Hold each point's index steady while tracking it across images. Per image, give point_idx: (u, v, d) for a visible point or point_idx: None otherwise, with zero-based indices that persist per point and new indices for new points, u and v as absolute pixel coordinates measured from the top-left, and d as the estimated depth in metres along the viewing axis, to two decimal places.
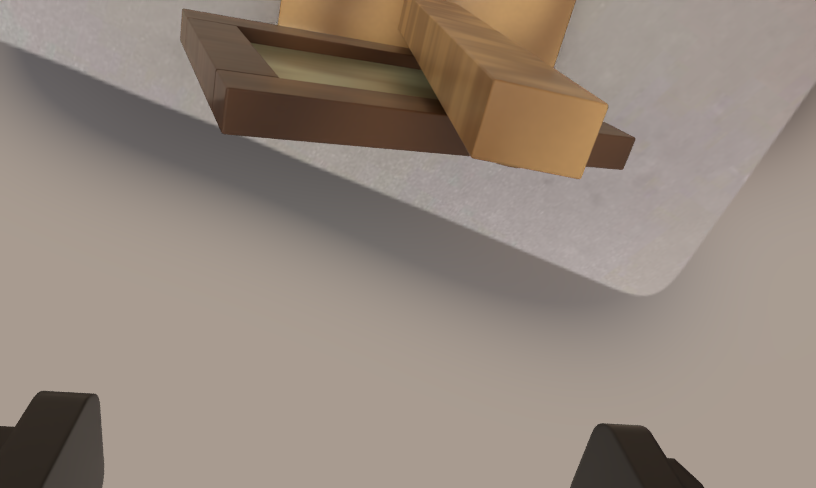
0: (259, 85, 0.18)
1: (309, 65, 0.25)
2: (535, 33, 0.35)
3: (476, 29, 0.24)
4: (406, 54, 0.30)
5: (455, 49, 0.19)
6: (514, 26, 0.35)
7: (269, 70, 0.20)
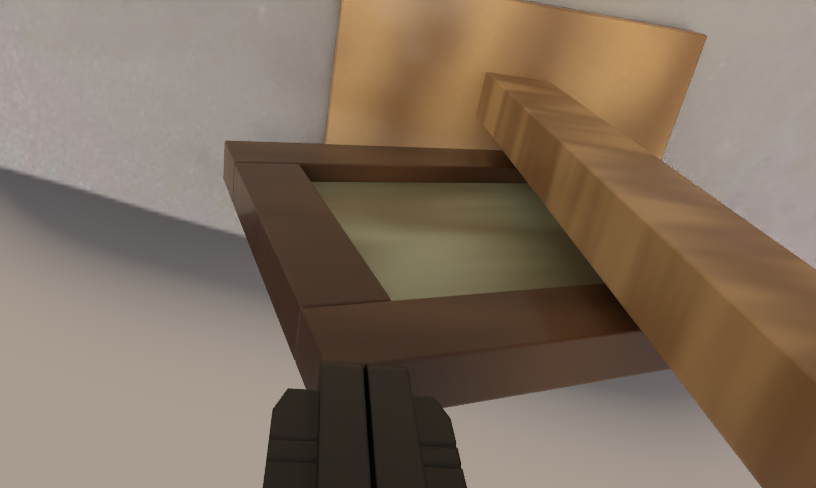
0: (373, 340, 0.12)
1: (401, 217, 0.18)
2: (645, 108, 0.28)
3: (636, 165, 0.17)
4: (510, 166, 0.23)
5: (670, 256, 0.12)
6: (619, 102, 0.28)
7: (372, 282, 0.13)
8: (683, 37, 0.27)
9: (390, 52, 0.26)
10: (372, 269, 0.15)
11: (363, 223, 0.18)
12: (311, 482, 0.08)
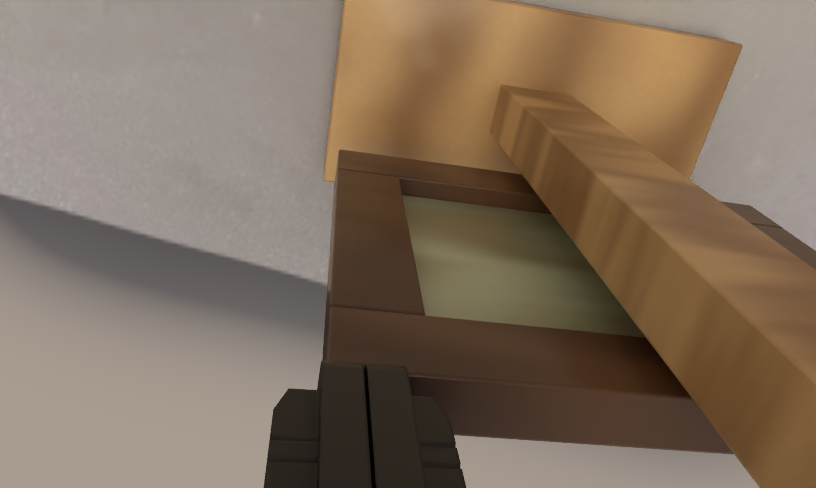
0: (385, 348, 0.11)
1: (486, 240, 0.18)
2: (673, 123, 0.26)
3: (682, 201, 0.15)
4: None
5: (745, 330, 0.10)
6: (645, 117, 0.25)
7: (413, 294, 0.13)
8: (716, 47, 0.24)
9: (396, 63, 0.23)
10: (430, 285, 0.15)
11: (443, 241, 0.17)
12: (312, 482, 0.08)
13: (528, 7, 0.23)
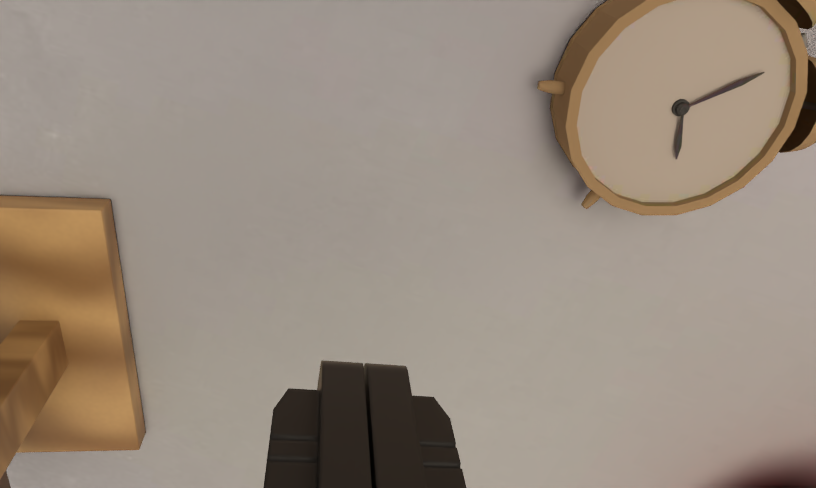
0: None
1: None
2: (73, 430, 0.36)
3: None
4: None
5: None
6: (71, 413, 0.35)
7: None
8: (132, 437, 0.36)
9: (47, 250, 0.30)
10: None
11: None
12: (312, 482, 0.08)
13: (118, 326, 0.33)
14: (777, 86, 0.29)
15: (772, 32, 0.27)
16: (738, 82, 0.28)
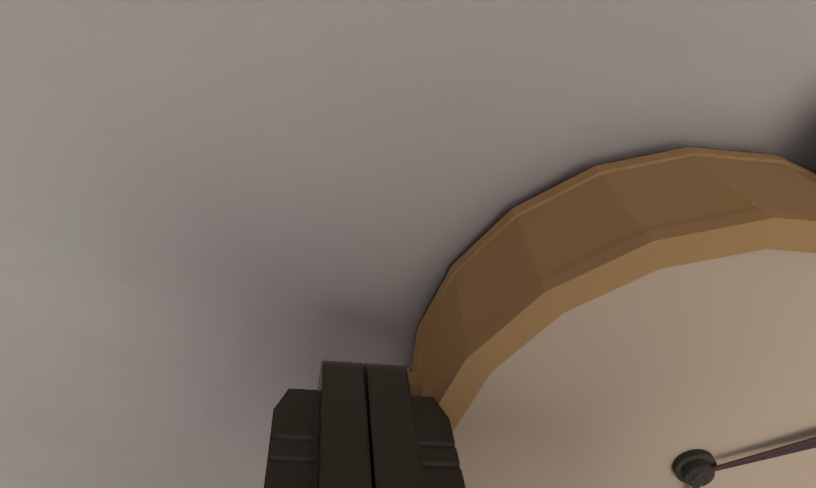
0: None
1: None
2: None
3: None
4: None
5: None
6: None
7: None
8: None
9: None
10: None
11: None
12: (312, 482, 0.08)
13: None
14: None
15: None
16: None
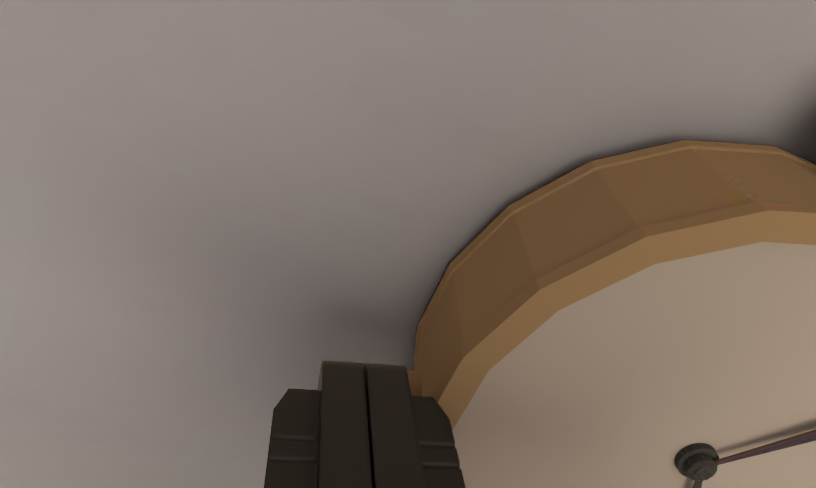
0: None
1: None
2: None
3: None
4: None
5: None
6: None
7: None
8: None
9: None
10: None
11: None
12: (312, 482, 0.08)
13: None
14: None
15: None
16: None
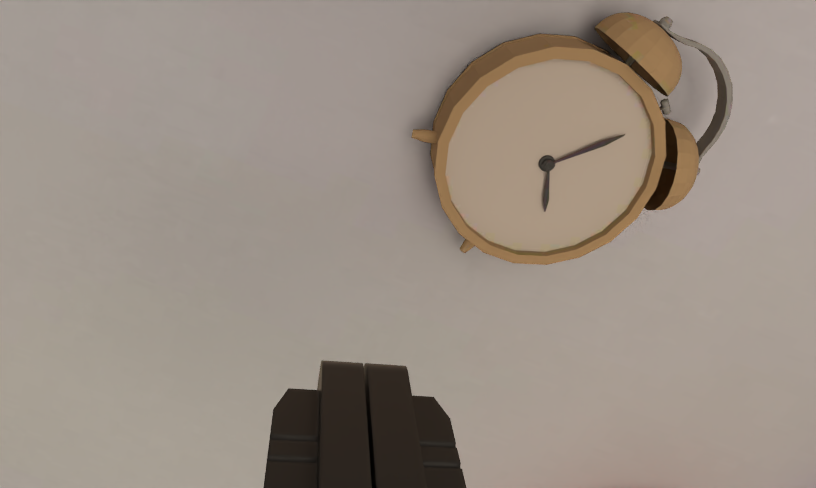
0: None
1: None
2: None
3: None
4: None
5: None
6: None
7: None
8: None
9: None
10: None
11: None
12: (312, 482, 0.08)
13: None
14: (639, 148, 0.30)
15: (631, 98, 0.28)
16: (600, 143, 0.29)
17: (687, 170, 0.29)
